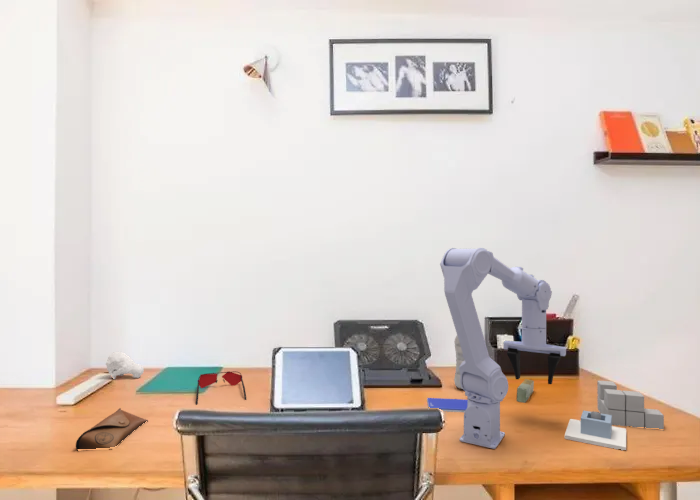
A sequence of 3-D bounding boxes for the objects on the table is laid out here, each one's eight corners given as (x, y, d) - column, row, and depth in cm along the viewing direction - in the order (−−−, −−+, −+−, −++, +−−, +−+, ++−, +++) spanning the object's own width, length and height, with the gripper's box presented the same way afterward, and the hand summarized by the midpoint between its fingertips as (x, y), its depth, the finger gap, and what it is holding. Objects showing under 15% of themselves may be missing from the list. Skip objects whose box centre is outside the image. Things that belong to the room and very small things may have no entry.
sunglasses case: (115, 450, 96) (99, 423, 96) (86, 467, 95) (70, 440, 95) (150, 419, 114) (136, 396, 114) (125, 433, 113) (112, 411, 113)
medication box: (526, 403, 127) (526, 389, 127) (516, 401, 128) (516, 387, 128) (533, 392, 137) (534, 379, 137) (524, 391, 139) (524, 378, 139)
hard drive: (428, 407, 120) (476, 409, 119) (427, 397, 128) (471, 398, 127) (428, 413, 120) (476, 415, 119) (426, 402, 128) (471, 404, 127)
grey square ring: (610, 439, 100) (610, 423, 100) (580, 433, 104) (580, 418, 104) (611, 430, 105) (611, 415, 105) (583, 424, 109) (583, 410, 109)
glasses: (242, 384, 145) (242, 369, 145) (246, 401, 129) (246, 383, 129) (197, 388, 141) (197, 372, 141) (195, 406, 125) (195, 388, 125)
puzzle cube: (664, 431, 107) (663, 398, 108) (607, 425, 111) (607, 393, 111) (648, 414, 119) (647, 384, 119) (597, 409, 123) (597, 380, 123)
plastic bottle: (478, 387, 141) (478, 324, 141) (471, 393, 135) (471, 327, 136) (458, 384, 145) (458, 322, 145) (451, 389, 139) (451, 325, 139)
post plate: (626, 451, 96) (626, 426, 96) (564, 438, 102) (564, 415, 102) (626, 432, 106) (626, 410, 106) (570, 421, 113) (570, 401, 113)
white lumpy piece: (116, 349, 155) (149, 353, 154) (114, 373, 155) (147, 378, 154) (104, 353, 149) (139, 357, 148) (102, 378, 149) (136, 383, 148)
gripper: (567, 327, 113) (567, 381, 112) (508, 322, 120) (507, 372, 120) (563, 331, 107) (563, 388, 107) (501, 325, 114) (501, 379, 114)
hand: (533, 380), depth 113 cm, fingers open, 7 cm apart
